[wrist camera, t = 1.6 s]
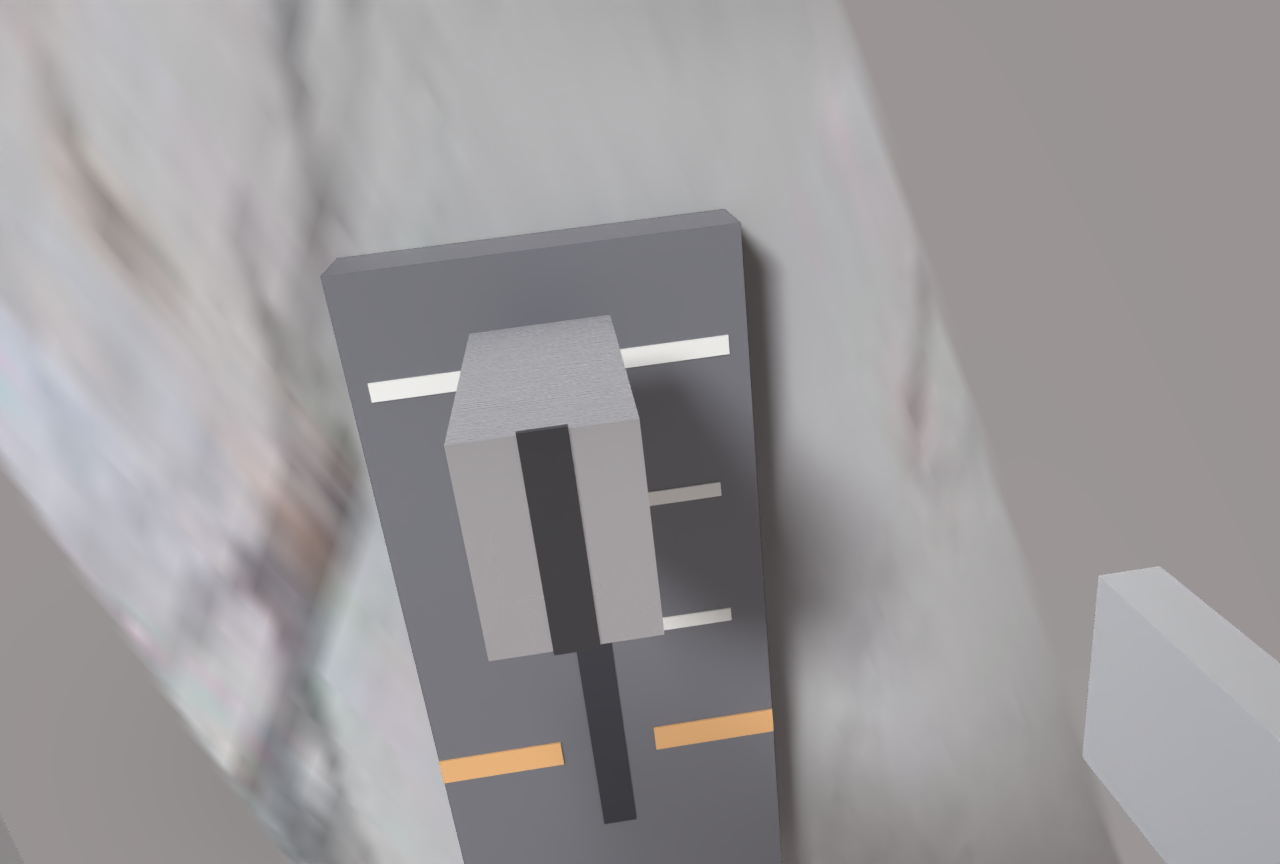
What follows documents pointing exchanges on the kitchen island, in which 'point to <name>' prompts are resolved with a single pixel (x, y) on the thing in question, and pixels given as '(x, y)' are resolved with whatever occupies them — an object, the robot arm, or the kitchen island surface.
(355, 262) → the fader console
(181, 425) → the kitchen island surface
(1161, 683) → the robot arm
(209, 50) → the kitchen island surface
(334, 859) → the kitchen island surface
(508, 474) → the fader knob
